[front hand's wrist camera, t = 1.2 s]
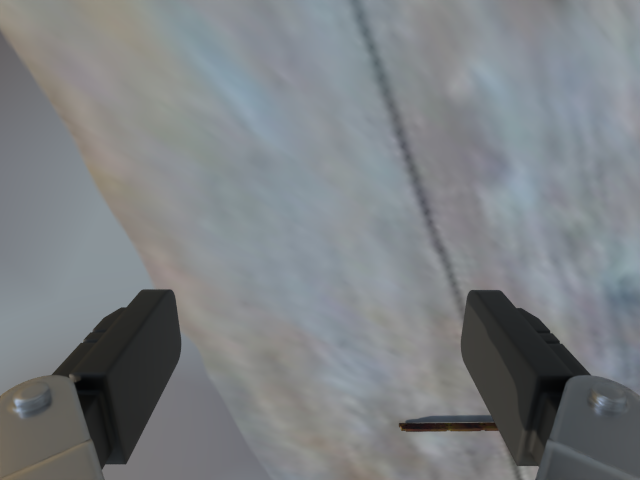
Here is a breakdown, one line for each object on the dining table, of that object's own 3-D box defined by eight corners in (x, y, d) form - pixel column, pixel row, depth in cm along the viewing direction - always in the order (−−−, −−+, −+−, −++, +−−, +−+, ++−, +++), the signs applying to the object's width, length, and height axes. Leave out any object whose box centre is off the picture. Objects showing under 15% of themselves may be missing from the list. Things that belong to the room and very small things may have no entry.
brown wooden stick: (398, 425, 52) (400, 432, 51) (398, 423, 52) (400, 429, 51) (517, 424, 52) (521, 430, 51) (518, 421, 52) (522, 428, 51)
